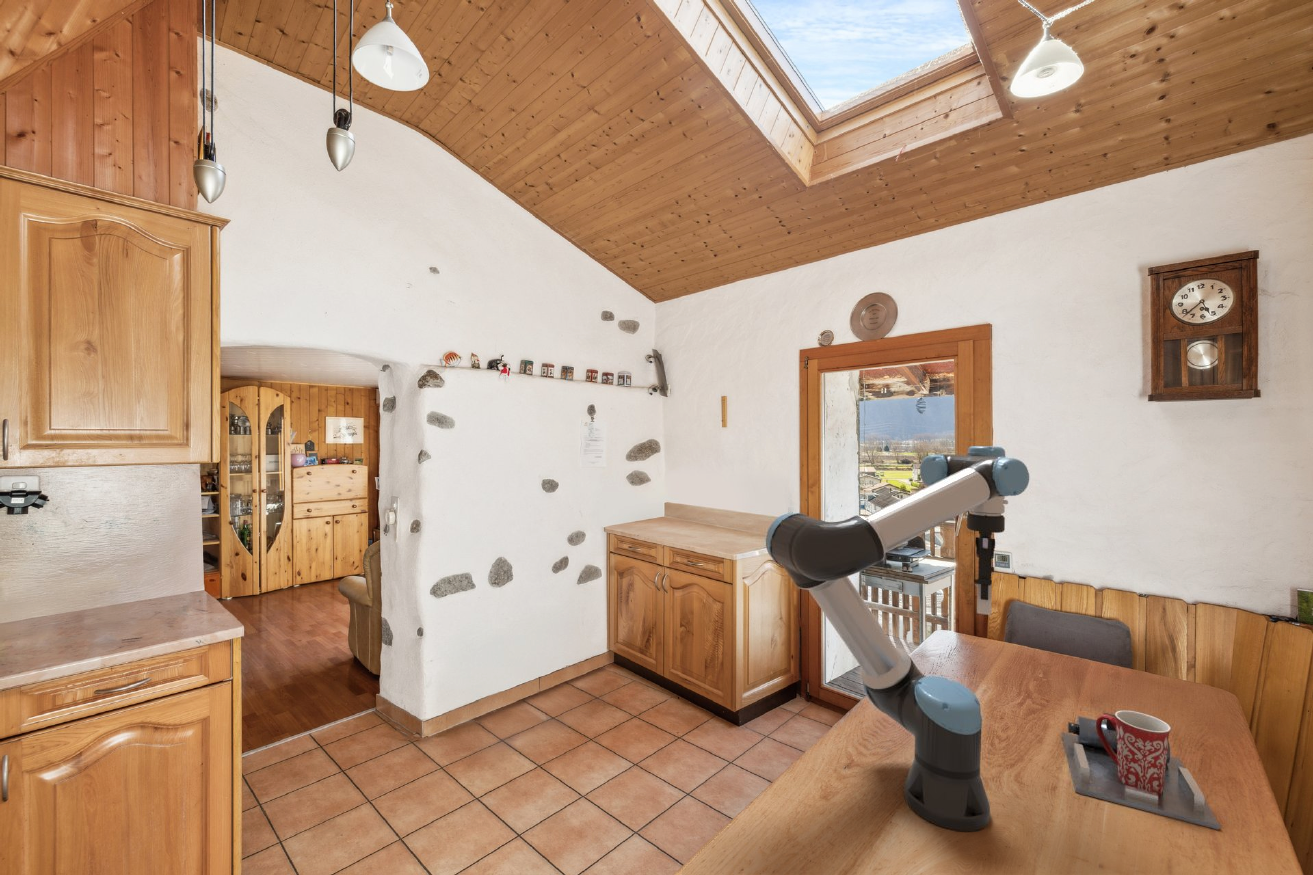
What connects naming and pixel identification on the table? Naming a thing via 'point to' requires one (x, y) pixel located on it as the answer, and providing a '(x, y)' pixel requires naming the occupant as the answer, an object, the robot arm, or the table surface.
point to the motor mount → (1101, 781)
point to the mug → (1138, 749)
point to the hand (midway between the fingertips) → (984, 606)
